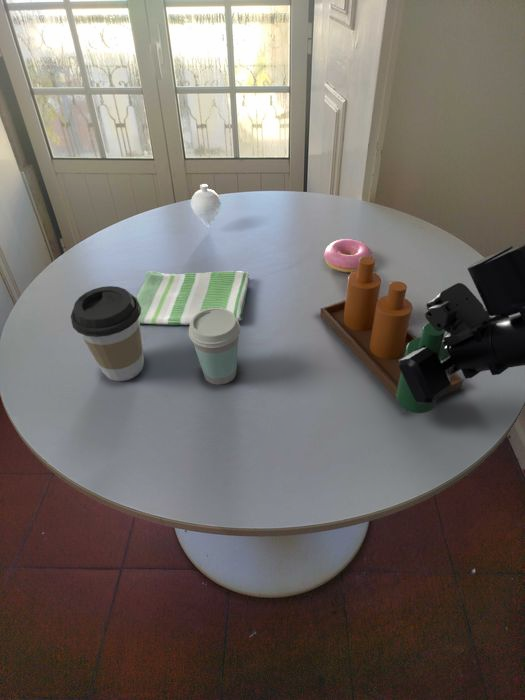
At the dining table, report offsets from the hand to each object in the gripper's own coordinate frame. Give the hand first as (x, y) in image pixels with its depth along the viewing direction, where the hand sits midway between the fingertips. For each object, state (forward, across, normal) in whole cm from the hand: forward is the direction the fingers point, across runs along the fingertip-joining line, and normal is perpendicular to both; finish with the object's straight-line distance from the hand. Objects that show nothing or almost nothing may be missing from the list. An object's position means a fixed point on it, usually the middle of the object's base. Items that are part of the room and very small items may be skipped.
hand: (417, 360), depth 69 cm
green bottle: (+4, 0, +6) cm, 7 cm away
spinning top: (+60, -7, -44) cm, 75 cm away
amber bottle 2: (+16, -8, -1) cm, 18 cm away
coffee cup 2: (+26, +20, -10) cm, 34 cm away
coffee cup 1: (+35, +33, -19) cm, 51 cm away
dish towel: (+42, +13, -26) cm, 51 cm away
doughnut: (+35, -24, -20) cm, 47 cm away
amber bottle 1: (+22, -10, -7) cm, 26 cm away
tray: (+17, -8, -1) cm, 19 cm away
